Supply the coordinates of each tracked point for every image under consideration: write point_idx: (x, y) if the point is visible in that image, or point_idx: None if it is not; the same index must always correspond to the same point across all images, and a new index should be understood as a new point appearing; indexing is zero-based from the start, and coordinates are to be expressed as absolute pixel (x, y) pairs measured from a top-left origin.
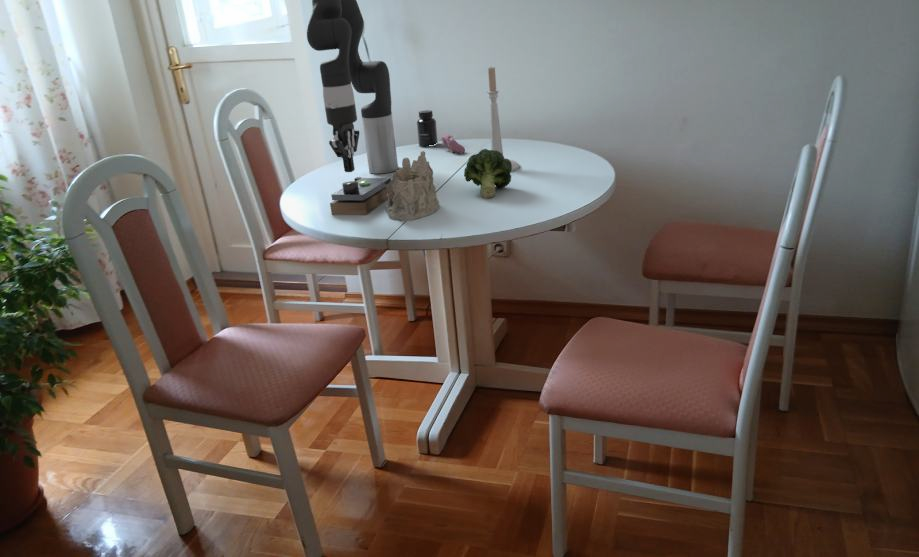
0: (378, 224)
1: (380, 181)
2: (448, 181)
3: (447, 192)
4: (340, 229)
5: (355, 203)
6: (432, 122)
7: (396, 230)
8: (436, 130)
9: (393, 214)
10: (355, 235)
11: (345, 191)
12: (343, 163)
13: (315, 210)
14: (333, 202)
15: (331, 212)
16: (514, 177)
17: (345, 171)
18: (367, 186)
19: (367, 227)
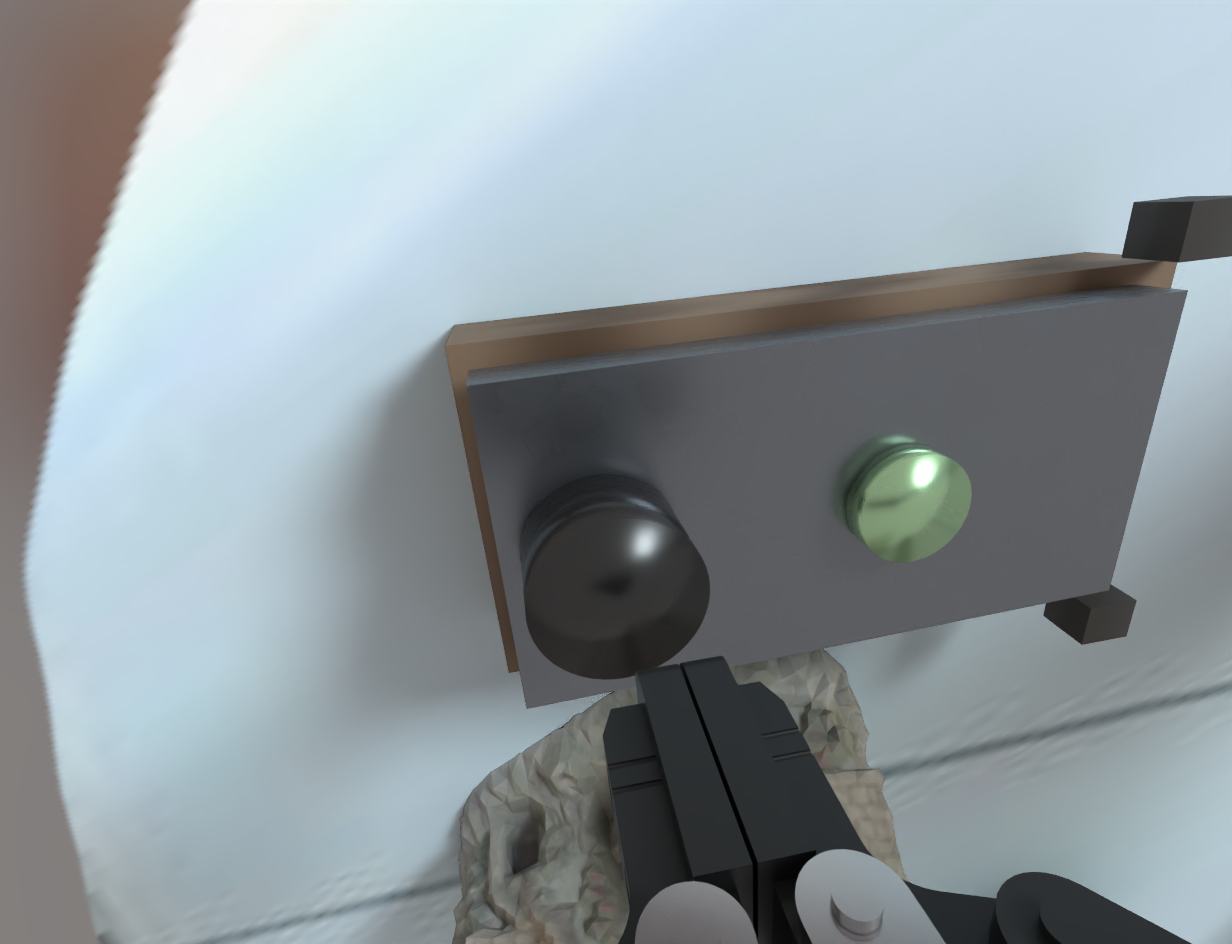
0: (346, 790)
1: (999, 575)
2: (1225, 694)
3: (997, 796)
4: (139, 632)
5: (498, 597)
6: None
7: (285, 924)
8: None
9: (487, 825)
10: (84, 792)
11: (522, 553)
12: (662, 774)
13: (533, 46)
14: (480, 367)
15: (453, 328)
16: (1198, 921)
17: (638, 675)
18: (825, 569)
19: (264, 767)
